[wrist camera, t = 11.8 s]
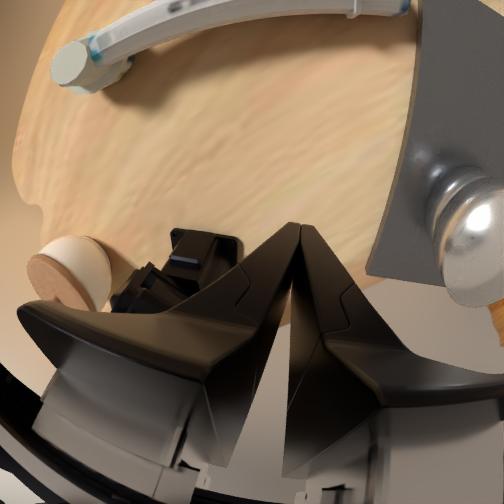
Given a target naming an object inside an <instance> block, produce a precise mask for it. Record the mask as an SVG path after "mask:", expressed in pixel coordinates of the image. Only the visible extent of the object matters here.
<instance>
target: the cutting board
mask: <svg viewBox="0 0 504 504" xmlns="http://www.w3.org/2000/svg"><path fill="white" fill-rule="evenodd" d="M483 177H497V178H500V179H503V180H504V17H503V16H502V15H500V14H499V13H497V12H496V11H494V10H493V9H491V8H490V7H488V6H486V5H485V4H483V3H482V2H480V1H478V0H418V27H417V45H416V57H415V67H414V76H413V84H412V91H411V97H410V104H409V110H408V116H407V121H406V126H405V131H404V136H403V141H402V146H401V150H400V154H399V159H398V163H397V167H396V171H395V175H394V179H393V183H392V186H391V190H390V193H389V197H388V200H387V204H386V207H385V211H384V214H383V217H382V220H381V223H380V227H379V230H378V233H377V236H376V239H375V242H374V244H373V247H372V250H371V253H370V256H369V259H368V261H367V264H366V267H365V269H366V275H371V276H378V277H384V278H390V279H397V280H403V281H410V282H416V283H423V284H429V285H436V286H442V287H446V286H445V283H444V281H443V279H442V276H441V274H440V272H439V270H438V267H437V265H436V263H435V260H434V257H433V252H432V239H433V233H434V229H435V226H436V223H437V221H438V218H439V216H440V214H441V212H442V210H443V209H444V207H445V206H446V204H447V203H448V201H449V200H450V199H451V198H452V197H453V196H454V195H455V194H456V193H457V192H458V191H459V190H460V189H461V188H462V187H464V186H465V185H467V184H468V183H470V182H472V181H474V180H476V179H479V178H483Z"/></svg>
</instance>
